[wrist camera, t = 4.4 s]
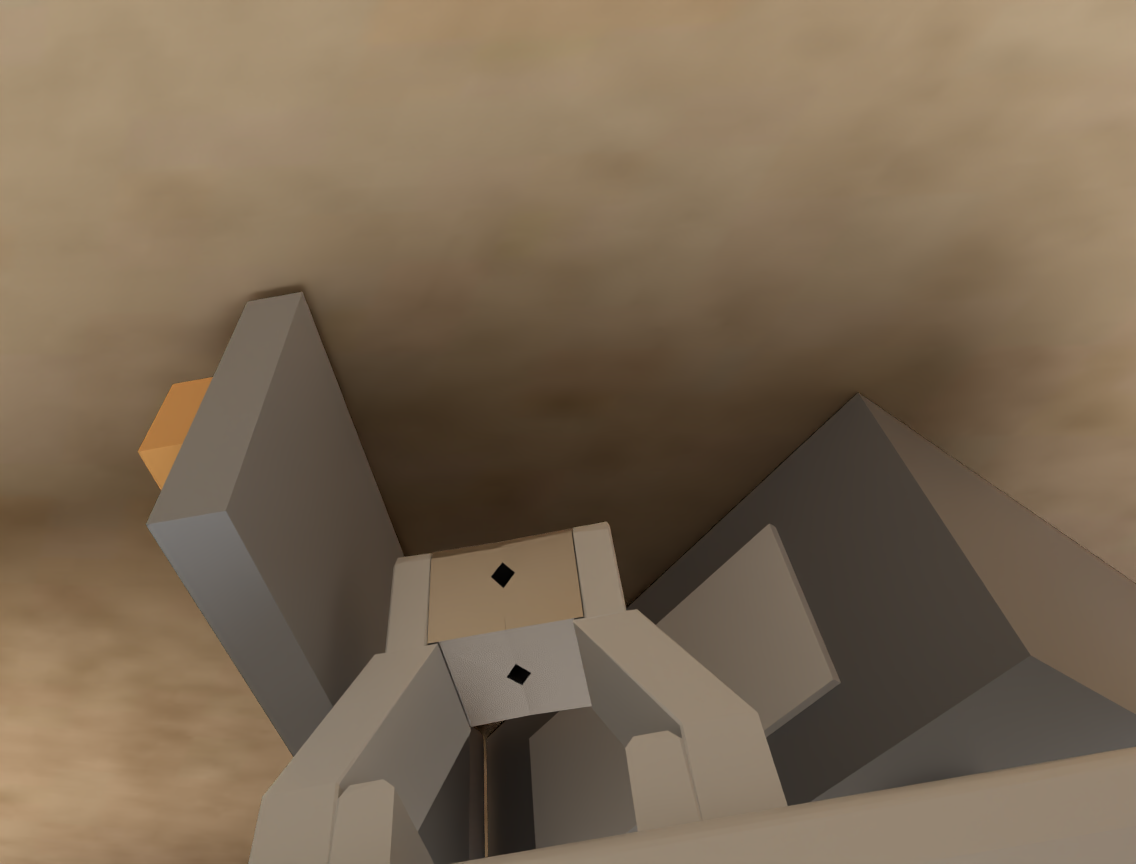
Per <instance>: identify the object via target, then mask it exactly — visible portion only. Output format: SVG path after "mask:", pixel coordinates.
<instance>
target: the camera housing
mask: <svg viewBox="0 0 1136 864" xmlns="http://www.w3.org/2000/svg"><path fill="white" fill-rule="evenodd" d="M635 609H638V610H639V611H640V612H641V613H642V614H643V615H645V616H646V617H647V618H648V619H649V620H650V621H652V622H653V623H654V624H655V625H656V626H657V627H659V628H660V629H661V630H662V631H663V632H664V633H666V634H667V635H668V636H669V637H670V638H671V639H672V640H674V641H675V642H676V643H677V644H678V645H679V646H681V647H682V648H683V649H684V650H685V651H686V652H688V653H689V654H690V655H691V656H692V657H693V658H695V659H696V660H697V661H698V662H699V663H700V664H702V665H703V666H704V667H705V668H706V669H707V670H709V671H710V672H711V673H712V674H713V675H714V676H716V677H717V678H718V679H719V680H720V681H721V682H723V683H724V684H725V685H726V686H727V687H728V688H730V689H731V690H732V691H733V692H734V693H735V694H737V695H738V696H739V697H740V698H741V699H742V700H744V701H745V702H746V703H747V704H748V705H749V706H751V707H752V708H753V709H754V710H755V711H756V712H758V715H759V718H760V721H761V724H762V727H763V730H764V733H765V736H766V740H767V743H768V746H769V749H770V752H771V755H772V758H773V761H774V765H775V768H776V771H777V774H778V777H779V780H780V783H781V786H782V790H783V793H784V796H785V799H786V802H787V805H788V806H791V805H797V804H803V803H809V802H815V801H821V800H826V799H832V798H838V797H844V796H850V795H856V794H862V793H867V792H873V791H879V790H885V789H891V788H897V787H903V786H908V785H914V784H920V783H926V782H932V781H938V780H944V779H950V778H955V777H961V776H967V775H973V774H979V773H985V772H991V771H996V770H1002V769H1008V768H1014V767H1020V766H1026V765H1031V764H1037V763H1043V762H1049V761H1055V760H1061V759H1067V758H1072V757H1078V756H1084V755H1090V754H1096V753H1102V752H1107V751H1113V750H1119V749H1125V748H1131V747H1136V584H1135V583H1134V582H1132V581H1131V580H1129V579H1128V578H1127V577H1125V576H1124V575H1122V574H1121V573H1119V572H1118V571H1116V570H1115V569H1114V568H1112V567H1111V566H1109V565H1108V564H1106V563H1105V562H1103V561H1102V560H1100V559H1099V558H1098V557H1096V556H1095V555H1093V554H1092V553H1090V552H1089V551H1087V550H1086V549H1084V548H1083V547H1082V546H1080V545H1079V544H1077V543H1076V542H1074V541H1073V540H1071V539H1070V538H1069V537H1067V536H1066V535H1064V534H1063V533H1061V532H1060V531H1058V530H1057V529H1055V528H1054V527H1053V526H1051V525H1050V524H1048V523H1047V522H1045V521H1044V520H1042V519H1041V518H1040V517H1038V516H1037V515H1035V514H1034V513H1032V512H1031V511H1029V510H1028V509H1026V508H1025V507H1024V506H1022V505H1021V504H1019V503H1018V502H1016V501H1015V500H1013V499H1012V498H1010V497H1009V496H1008V495H1006V494H1005V493H1003V492H1002V491H1000V490H999V489H997V488H996V487H995V486H993V485H992V484H990V483H989V482H987V481H986V480H984V479H983V478H981V477H980V476H979V475H977V474H976V473H974V472H973V471H971V470H970V469H968V468H967V467H965V466H964V465H963V464H961V463H960V462H958V461H957V460H955V459H954V458H952V457H951V456H950V455H948V454H947V453H945V452H944V451H942V450H941V449H939V448H938V447H936V446H935V445H934V444H932V443H931V442H929V441H928V440H926V439H925V438H923V437H922V436H921V435H919V434H918V433H916V432H915V431H913V430H912V429H910V428H909V427H907V426H906V425H905V424H903V423H902V422H900V421H899V420H897V419H896V418H894V417H893V416H891V415H890V414H889V413H887V412H886V411H884V410H883V409H881V408H880V407H878V406H877V405H876V404H874V403H873V402H871V401H870V400H868V399H867V398H865V397H864V396H862V395H861V394H860V393H857V394H856V395H855V396H854V397H853V398H852V399H851V400H849V401H848V402H847V403H846V404H845V405H844V406H843V407H842V408H841V409H840V410H839V411H838V412H837V413H836V414H834V415H833V416H832V417H831V418H830V419H829V420H828V421H827V422H826V423H825V424H824V425H823V426H822V427H820V428H819V429H818V430H817V431H816V432H815V433H814V434H813V435H812V436H811V437H810V438H809V439H808V440H807V441H805V442H804V443H803V444H802V445H801V446H800V447H799V448H798V449H797V450H796V451H795V452H794V453H793V454H792V455H790V456H789V457H788V458H787V459H786V460H785V461H784V462H783V463H782V464H781V465H780V466H779V467H778V468H776V469H775V470H774V471H773V472H772V473H771V474H770V475H769V476H768V477H767V478H766V479H765V480H764V481H763V482H761V483H760V484H759V485H758V486H757V487H756V488H755V489H754V490H753V491H752V492H751V493H750V494H749V495H748V496H746V497H745V498H744V499H743V500H742V501H741V502H740V503H739V504H738V505H737V506H736V507H735V508H734V509H732V510H731V511H730V512H729V513H728V514H727V515H726V516H725V517H724V518H723V519H722V520H721V521H720V522H719V523H717V524H716V525H715V526H714V527H713V528H712V529H711V530H710V531H709V532H708V533H707V534H706V535H705V536H704V537H702V538H701V539H700V540H699V541H698V542H697V543H696V544H695V545H694V546H693V547H692V548H691V549H690V550H688V551H687V552H686V553H685V554H684V555H683V556H682V557H681V558H680V559H679V560H678V561H677V562H676V563H675V564H673V565H672V566H671V567H670V568H669V569H668V570H667V571H666V572H665V573H664V574H663V575H662V576H661V577H660V578H658V579H657V580H656V581H655V582H654V583H653V584H652V585H651V586H650V587H649V588H648V589H647V590H646V591H644V592H643V593H642V594H641V595H640V596H639V597H638V598H637V599H636V600H635V601H634V602H633V603H632V604H631V605H629V606H628V607H627V608H626V610H627V611H628V610H635ZM486 744H487V813H488V857H492V856H498V855H504V854H510V853H516V852H522V851H527V850H533V849H539V848H545V847H551V846H557V845H563V844H569V843H574V842H580V841H586V840H592V839H598V838H604V837H610V836H615V835H621V834H627V833H633V832H638V830H637V823H636V816H635V810H634V803H633V796H632V790H631V783H630V776H629V770H628V763H627V756H626V750H625V747H624V746H623V744H622V743H621V742H620V741H619V740H618V739H617V737H616V736H615V735H614V734H613V733H612V731H611V730H610V729H609V728H608V727H607V726H606V724H605V723H604V722H603V721H602V720H601V718H600V717H599V716H598V715H597V714H596V713H595V711H594V710H593V709H592V706H589V707H582V708H575V709H568V710H561V711H554V712H548V713H541V714H534V715H528V716H523V717H518V718H513V719H508V720H506V721H505V722H504V723H503V724H502V725H501V726H500V727H499V728H497V729H496V730H495V731H494V732H493V733H492V734H491V735H490V736H489V737H488V738H487V739H486Z"/></svg>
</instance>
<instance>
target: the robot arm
mask: <svg viewBox="0 0 1136 864" xmlns="http://www.w3.org/2000/svg"><path fill="white" fill-rule="evenodd" d="M589 706H592V709H593V710H594V711H595V713H596V714H597V715H598V716H599V717H600V718H601V720H602V721H603V722H604V723H605V724H606V726H607V727H608V728H609V729H610V730H611V731H612V733H613V734H614V735H615V736H616V737H617V739H618V740H619V741H620V742H621V743H622V744H623V746H624V747H625V750H626V756H627V763H628V770H629V776H630V783H631V790H632V796H633V803H634V810H635V816H636V823H637V830H638V832H633V833H627V834H621V835H615V836H610V837H604V838H598V839H592V840H586V841H580V842H574V843H569V844H563V845H557V846H551V847H545V848H539V849H533V850H527V851H522V852H516V853H510V854H504V855H498V856H492V857H486V858H481V859H475V860H469V861H463V862H457V863H451V864H1136V747H1131V748H1125V749H1119V750H1113V751H1107V752H1102V753H1096V754H1090V755H1084V756H1078V757H1072V758H1067V759H1061V760H1055V761H1049V762H1043V763H1037V764H1031V765H1026V766H1020V767H1014V768H1008V769H1002V770H996V771H991V772H985V773H979V774H973V775H967V776H961V777H955V778H950V779H944V780H938V781H932V782H926V783H920V784H914V785H908V786H903V787H897V788H891V789H885V790H879V791H873V792H867V793H862V794H856V795H850V796H844V797H838V798H832V799H826V800H821V801H815V802H809V803H803V804H797V805H791V806H788V805H787V802H786V799H785V796H784V793H783V790H782V786H781V783H780V780H779V777H778V774H777V771H776V768H775V765H774V761H773V758H772V755H771V752H770V749H769V746H768V743H767V740H766V736H765V733H764V730H763V727H762V724H761V721H760V718H759V715H758V712H756V711H755V710H754V709H753V708H752V707H751V706H749V705H748V704H747V703H746V702H745V701H744V700H742V699H741V698H740V697H739V696H738V695H737V694H735V693H734V692H733V691H732V690H731V689H730V688H728V687H727V686H726V685H725V684H724V683H723V682H721V681H720V680H719V679H718V678H717V677H716V676H714V675H713V674H712V673H711V672H710V671H709V670H707V669H706V668H705V667H704V666H703V665H702V664H700V663H699V662H698V661H697V660H696V659H695V658H693V657H692V656H691V655H690V654H689V653H688V652H686V651H685V650H684V649H683V648H682V647H681V646H679V645H678V644H677V643H676V642H675V641H674V640H672V639H671V638H670V637H669V636H668V635H667V634H666V633H664V632H663V631H662V630H661V629H660V628H659V627H657V626H656V625H655V624H654V623H653V622H652V621H650V620H649V619H648V618H647V617H646V616H645V615H643V614H642V613H641V612H640V611H639V610H638V609H635V610H628V611H627V610H626V605H625V600H624V595H623V590H622V585H621V580H620V575H619V570H618V565H617V560H616V555H615V550H614V545H613V540H612V535H611V530H610V526H609V524H608V523H607V521H606V522H601V523H596V524H591V525H585V526H580V527H575V528H573V532H572V528H570V529H565V530H559V531H554V532H548V533H543V534H538V535H532V536H527V537H521V538H516V539H510V540H505V541H502V542H495V543H489V544H482V545H475V546H469V547H462V548H455V549H449V550H442V551H436V552H433V553H428V554H421V555H414V556H407V557H400V558H397V561H396V563H395V565H394V567H393V577H392V587H391V598H390V608H389V618H388V628H387V639H386V649H385V653H381V654H376V655H374V656H373V657H372V659H371V660H370V661H369V662H368V664H367V665H366V666H365V667H364V669H363V670H362V671H361V673H360V674H359V675H358V676H357V678H356V679H355V680H354V681H353V683H352V684H351V685H350V686H349V688H348V689H347V690H346V691H345V693H344V694H343V695H342V697H341V698H340V699H339V700H338V702H337V703H336V704H335V705H334V707H333V708H332V709H331V710H330V712H329V713H328V714H327V716H326V717H325V718H324V719H323V721H322V722H321V723H320V724H319V726H318V727H317V728H316V729H315V731H314V732H313V733H312V734H311V736H310V737H309V738H308V740H307V741H306V742H305V743H304V745H303V746H302V747H301V748H300V750H299V751H298V752H297V753H296V755H295V756H294V757H293V758H292V760H291V761H290V762H289V764H288V765H287V766H286V767H285V769H284V770H283V771H282V772H281V774H280V775H279V776H278V777H277V779H276V780H275V781H274V783H273V784H272V785H271V786H270V788H269V789H268V790H267V791H266V793H265V794H264V795H263V796H262V800H261V805H260V810H259V814H258V819H257V824H256V829H255V833H254V838H253V843H252V848H251V853H250V857H249V862H248V864H434V863H433V861H432V859H431V857H430V855H429V853H428V851H427V849H426V847H425V845H424V843H423V841H422V839H421V837H420V836H419V834H418V830H419V828H420V826H421V824H422V822H423V821H424V819H425V817H426V815H427V813H428V811H429V809H430V807H431V805H432V804H433V802H434V800H435V798H436V796H437V794H438V792H439V790H440V788H441V787H442V785H443V783H444V781H445V779H446V777H447V775H448V773H449V771H450V770H451V768H452V766H453V764H454V762H455V760H456V758H457V756H458V754H459V753H460V751H461V749H462V747H463V745H464V743H465V741H466V739H467V737H468V736H469V734H470V732H471V729H470V727H473V726H478V725H483V724H488V723H493V722H498V721H503V720H508V719H513V718H518V717H523V716H528V715H534V714H541V713H548V712H554V711H561V710H568V709H575V708H582V707H589Z"/></svg>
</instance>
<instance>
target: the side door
mask: <svg viewBox="0 0 1136 864" xmlns="http://www.w3.org/2000/svg"><path fill="white" fill-rule="evenodd" d="M138 453H139V455H140V456H141V458H142V460H143V461H144V463H145V465H146V466H147V468H148V470H149V471H150V473H151V475H152V476H153V478H154V480H155V481H156V483H157V485H158V486H159V488H160V490H161V492H160V494H159V497H158V499H157V501H156V503H155V505H154V508H153V510H152V512H151V514H150V516H149V519H148V521H147V523H146V526H147V527H148V529H149V531H150V532H151V534H152V535H153V537H154V538H155V540H156V542H157V543H158V545H159V546H160V548H161V550H162V551H163V553H164V554H165V556H166V557H167V559H168V561H169V562H170V564H171V565H172V567H173V568H174V570H175V572H176V573H177V575H178V576H179V578H180V579H181V581H182V583H183V584H184V586H185V587H186V589H187V590H188V592H189V594H190V595H191V597H192V598H193V600H194V601H195V603H196V605H197V606H198V608H199V609H200V611H201V612H202V614H203V616H204V617H205V619H206V620H207V622H208V623H209V625H210V627H211V628H212V630H213V631H214V633H215V634H216V636H217V638H218V639H219V641H220V642H221V644H222V645H223V647H224V649H225V650H226V652H227V653H228V655H229V656H230V658H231V660H232V661H233V663H234V664H235V666H236V667H237V669H238V671H239V672H240V674H241V675H242V677H243V678H244V680H245V682H246V683H247V685H248V686H249V688H250V689H251V691H252V693H253V694H254V696H255V697H256V699H257V700H258V702H259V704H260V705H261V707H262V708H263V710H264V711H265V713H266V715H267V716H268V718H269V719H270V721H271V723H272V724H273V726H274V727H275V729H276V730H277V732H278V734H279V735H280V737H281V738H282V740H283V741H284V743H285V745H286V746H287V748H288V749H289V751H290V752H291V754H292V756H293V757H294V756H295V755H296V753H297V752H298V751H299V750H300V748H301V747H302V746H303V745H304V743H305V742H306V741H307V740H308V738H309V737H310V736H311V734H312V733H313V732H314V731H315V729H316V728H317V727H318V726H319V724H320V723H321V722H322V721H323V719H324V718H325V717H326V716H327V714H328V713H329V712H330V710H331V709H332V708H333V707H334V705H335V704H336V703H337V702H338V700H339V699H340V698H341V697H342V695H343V694H344V693H345V691H346V690H347V689H348V688H349V686H350V685H351V684H352V683H353V681H354V680H355V679H356V678H357V676H358V675H359V674H360V673H361V671H362V670H363V669H364V667H365V666H366V665H367V664H368V662H369V661H370V660H371V659H372V657H373V656H374V655H376V654H381V653H385V649H386V639H387V628H388V618H389V608H390V598H391V587H392V577H393V567H394V565H395V563H396V561H397V558H400V557H404V554H403V552H402V549H401V546H400V544H399V541H398V539H397V536H396V533H395V531H394V528H393V526H392V523H391V520H390V518H389V515H388V513H387V510H386V507H385V505H384V502H383V500H382V497H381V494H380V492H379V489H378V487H377V484H376V481H375V479H374V476H373V474H372V471H371V468H370V466H369V463H368V461H367V458H366V455H365V453H364V450H363V448H362V445H361V442H360V440H359V437H358V435H357V432H356V429H355V427H354V424H353V422H352V419H351V416H350V414H349V411H348V409H347V406H346V403H345V401H344V398H343V396H342V393H341V390H340V388H339V385H338V383H337V380H336V377H335V375H334V372H333V370H332V367H331V364H330V362H329V359H328V357H327V354H326V351H325V349H324V346H323V344H322V341H321V338H320V336H319V333H318V331H317V328H316V325H315V323H314V320H313V318H312V315H311V312H310V310H309V307H308V305H307V302H306V299H305V297H304V294H303V292H298V293H293V294H287V295H281V296H276V297H270V298H265V299H259V300H253V301H248V302H247V303H246V305H245V308H244V310H243V312H242V314H241V316H240V319H239V321H238V323H237V325H236V327H235V330H234V332H233V334H232V336H231V338H230V341H229V343H228V345H227V347H226V349H225V352H224V354H223V356H222V358H221V360H220V363H219V365H218V367H217V369H216V371H215V374H214V376H213V377H210V378H204V379H199V380H193V381H187V382H182V383H176V384H173V385H172V386H171V388H170V390H169V392H168V394H167V396H166V398H165V400H164V402H163V404H162V406H161V408H160V410H159V412H158V413H157V415H156V417H155V419H154V421H153V423H152V425H151V427H150V429H149V431H148V433H147V435H146V437H145V439H144V440H143V442H142V444H141V446H140V448H139V450H138ZM470 729H471V732H470V734H469V736H468V737H467V739H466V741H465V743H464V745H463V747H462V749H461V751H460V753H459V754H458V756H457V758H456V760H455V762H454V764H453V766H452V768H451V770H450V771H449V773H448V775H447V777H446V779H445V781H444V783H443V785H442V787H441V788H440V790H439V792H438V794H437V796H436V798H435V800H434V802H433V804H432V805H431V807H430V809H429V811H428V813H427V815H426V817H425V819H424V821H423V822H422V824H421V826H420V828H419V830H418V834H419V836H420V837H421V839H422V841H423V843H424V845H425V847H426V849H427V851H428V853H429V855H430V857H431V859H432V861H433V863H434V864H451V863H457V862H463V861H469V860H475V859H481V858H485V834H484V746H483V736H482V734H481V733H480V732H479V731H478V730H477V729H475V728H472V727H470Z"/></svg>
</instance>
